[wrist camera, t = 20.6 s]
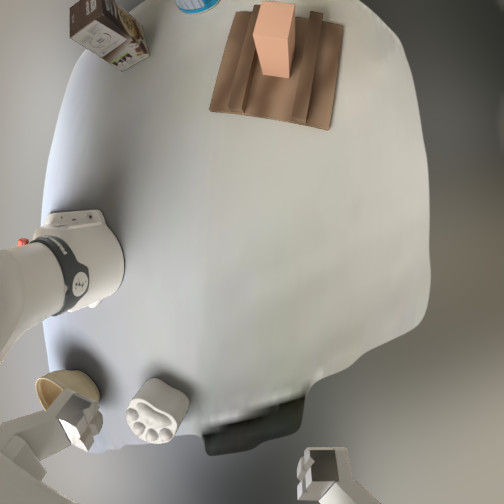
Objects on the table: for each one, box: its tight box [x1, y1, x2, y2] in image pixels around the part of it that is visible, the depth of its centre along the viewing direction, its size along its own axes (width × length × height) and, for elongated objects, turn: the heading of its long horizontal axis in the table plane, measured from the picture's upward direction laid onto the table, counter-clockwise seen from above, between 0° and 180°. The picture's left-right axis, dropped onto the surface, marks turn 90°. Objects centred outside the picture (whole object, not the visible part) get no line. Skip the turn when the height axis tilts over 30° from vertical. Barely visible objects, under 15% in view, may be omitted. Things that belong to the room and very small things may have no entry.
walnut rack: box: [209, 5, 343, 130], centre depth 36 cm, size 18×20×4 cm
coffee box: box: [70, 0, 149, 71], centre depth 31 cm, size 9×6×16 cm
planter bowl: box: [35, 370, 100, 410], centre depth 49 cm, size 16×16×11 cm
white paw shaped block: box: [126, 378, 189, 444], centre depth 47 cm, size 10×13×9 cm
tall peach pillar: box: [253, 1, 295, 78], centre depth 30 cm, size 4×6×12 cm, turn 169°
